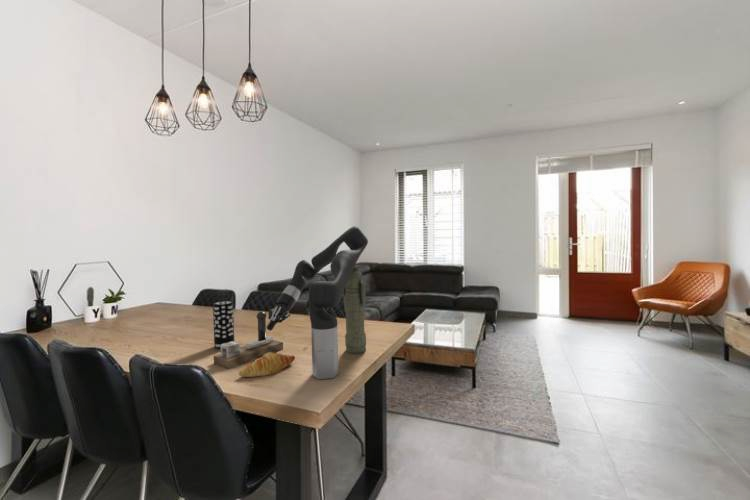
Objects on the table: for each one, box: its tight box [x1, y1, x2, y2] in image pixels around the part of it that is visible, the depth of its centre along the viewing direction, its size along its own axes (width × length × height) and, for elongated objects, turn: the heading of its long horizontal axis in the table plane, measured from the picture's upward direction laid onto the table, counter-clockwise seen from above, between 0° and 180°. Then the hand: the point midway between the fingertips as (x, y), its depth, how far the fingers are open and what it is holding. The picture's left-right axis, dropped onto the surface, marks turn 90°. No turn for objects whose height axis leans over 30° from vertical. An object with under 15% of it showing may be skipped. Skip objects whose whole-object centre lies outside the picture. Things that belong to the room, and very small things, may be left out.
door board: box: [213, 339, 284, 369], centre depth 138 cm, size 26×10×8 cm, turn 146°
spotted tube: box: [212, 300, 235, 350], centre depth 151 cm, size 8×8×20 cm
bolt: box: [245, 310, 275, 349], centre depth 142 cm, size 12×4×14 cm, turn 146°
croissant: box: [238, 352, 296, 378], centre depth 123 cm, size 21×10×8 cm, turn 132°
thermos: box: [342, 268, 367, 355], centre depth 142 cm, size 9×12×35 cm
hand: (268, 329), depth 146 cm, fingers closed
